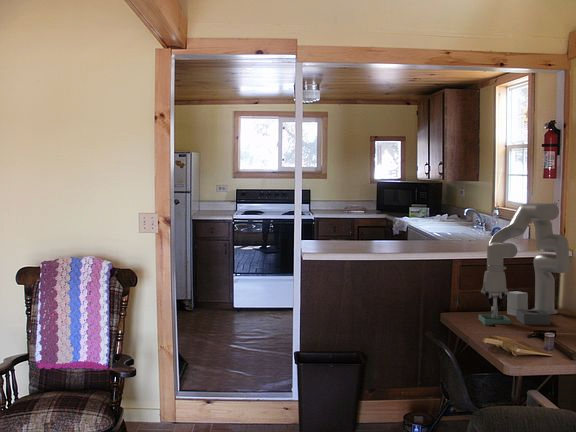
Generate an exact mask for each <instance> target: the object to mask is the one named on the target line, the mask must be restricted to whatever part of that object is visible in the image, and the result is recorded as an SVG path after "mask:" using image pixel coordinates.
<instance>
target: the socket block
mask: <svg viewBox="0 0 576 432" xmlns="http://www.w3.org/2000/svg"><path fill="white" fill-rule="evenodd" d="M551 315H552V314H548V313H547V312H545V311H543V310H532V309H517V311H516V316H515V318H516V321H518V322H520V323H521V324H522V325H525V326H551V317H552V316H551Z"/></svg>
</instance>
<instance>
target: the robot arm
mask: <svg viewBox="0 0 576 432" xmlns="http://www.w3.org/2000/svg"><path fill="white" fill-rule="evenodd" d="M559 214H560V208H559V206H558V205H557V204H555V203H553V202H552V203H550V202H549V203H543V202H541V203H540V202H535V203H534V202H533V203H527V204H521V205H519V206H518V207H517V208H516V210H515V212H514V214H513V216H512V217H511V219H510V221H509V223H508V224H507V225H506V226H504V227H502V228H500V230H498V231H496V232H495V233H494V234H493V235H492V237H491V239H490V240H489V242H488V245H487V247H486V250H487V251H486V253H487V254H486V258H487V259H486V270H485V271H484V275H483V284H482V288H481V290H480V293H482V294H484V296H486V297H487V298H488V299H487V303H488V306H490V307H492V297H491V296H492V292H498V293H499V296H498V308H500V307H501V305H502V299H503V297H504V296H507V294H508V293H509V292H510V291H509V289H508V288H507V280H506V279H507V278H506V272H505V271H504V270H507V266H505V265H504V259H513V258H515V257H516V255H517V254H518V247H517V246H516V244H514V243H511V242H506V241H508V240H510V239H513V238H517V237H520V236H522V235H523V234H525V232H526V230H527V228H528V226H529V225H530V223H531V222H532V223H533V225H534V234H535V239H534V240H535V247H536V249H537V250H538V251H540V252H547V253H538V254H536V255H535V256H534V258H533V268H534V275H535V279H534V280H535V281H534V282H535V283H534V291H535V292H534V307H533V308H531V310H543V311H545V312H547V313H548V314H550V315H556V314H557V315H558V310H556V309H555V294H556V293H555V292H556V291H555V289H556V285H555V284H556V283H555V277H554V275H553V274H552V273H556V274H557V273H558V274H565V273H567V272H568V271H569V269H570V251H569V241H568V238H567V237H566V236H565V235H563V234H555V233H554V232H553V224H552V222H551V221H554V220H555V219H557V218H558V216H560V215H559ZM552 253H555V254H552Z"/></svg>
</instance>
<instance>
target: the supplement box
mask: <svg viewBox="0 0 576 432" xmlns="http://www.w3.org/2000/svg"><path fill="white" fill-rule="evenodd" d="M506 296H507V297H506V306H507V307H506V314H507V315H508V316H514V317H516V311H517V309H528V308H529V300H528V298H529V294H528V292H525V291H523V292H522V291H516V290H515V291H514V290H513V291H509V293H508V294H506ZM528 310H529V309H528Z"/></svg>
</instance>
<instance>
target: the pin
mask: <svg viewBox="0 0 576 432" xmlns="http://www.w3.org/2000/svg"><path fill="white" fill-rule="evenodd" d="M498 296H499V293H498V292H492V296H491V297H492V307H491V306H490V307H491V310H490V312H491V313H490V315H491V318H498V315H499V314H498V313H499V307H498Z"/></svg>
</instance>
